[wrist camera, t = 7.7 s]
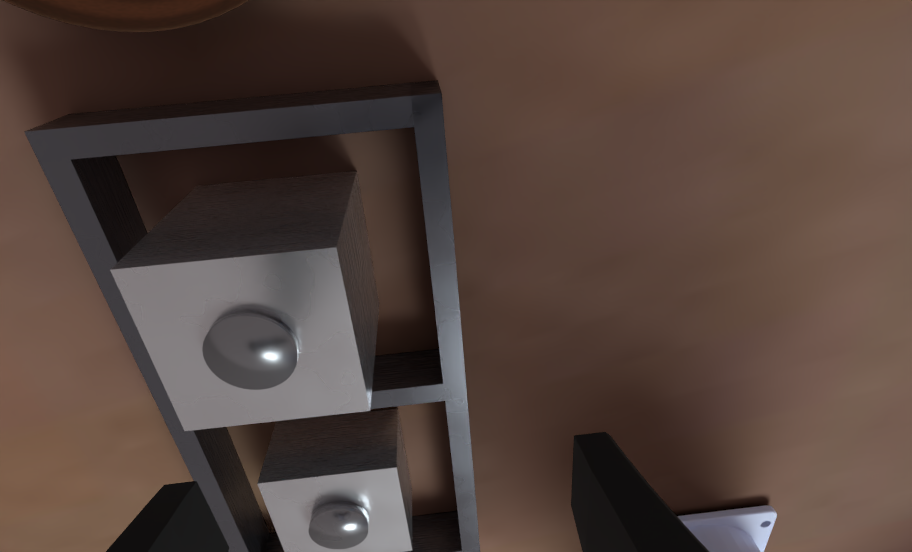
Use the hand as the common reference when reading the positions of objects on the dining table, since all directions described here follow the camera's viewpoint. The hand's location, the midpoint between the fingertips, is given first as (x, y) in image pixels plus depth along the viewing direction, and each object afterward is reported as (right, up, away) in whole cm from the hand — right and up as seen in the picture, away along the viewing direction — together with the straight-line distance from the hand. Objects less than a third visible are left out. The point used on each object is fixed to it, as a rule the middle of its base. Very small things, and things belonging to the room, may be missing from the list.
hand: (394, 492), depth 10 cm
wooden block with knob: (-3, -4, +12) cm, 13 cm away
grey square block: (-4, +5, +8) cm, 10 cm away
